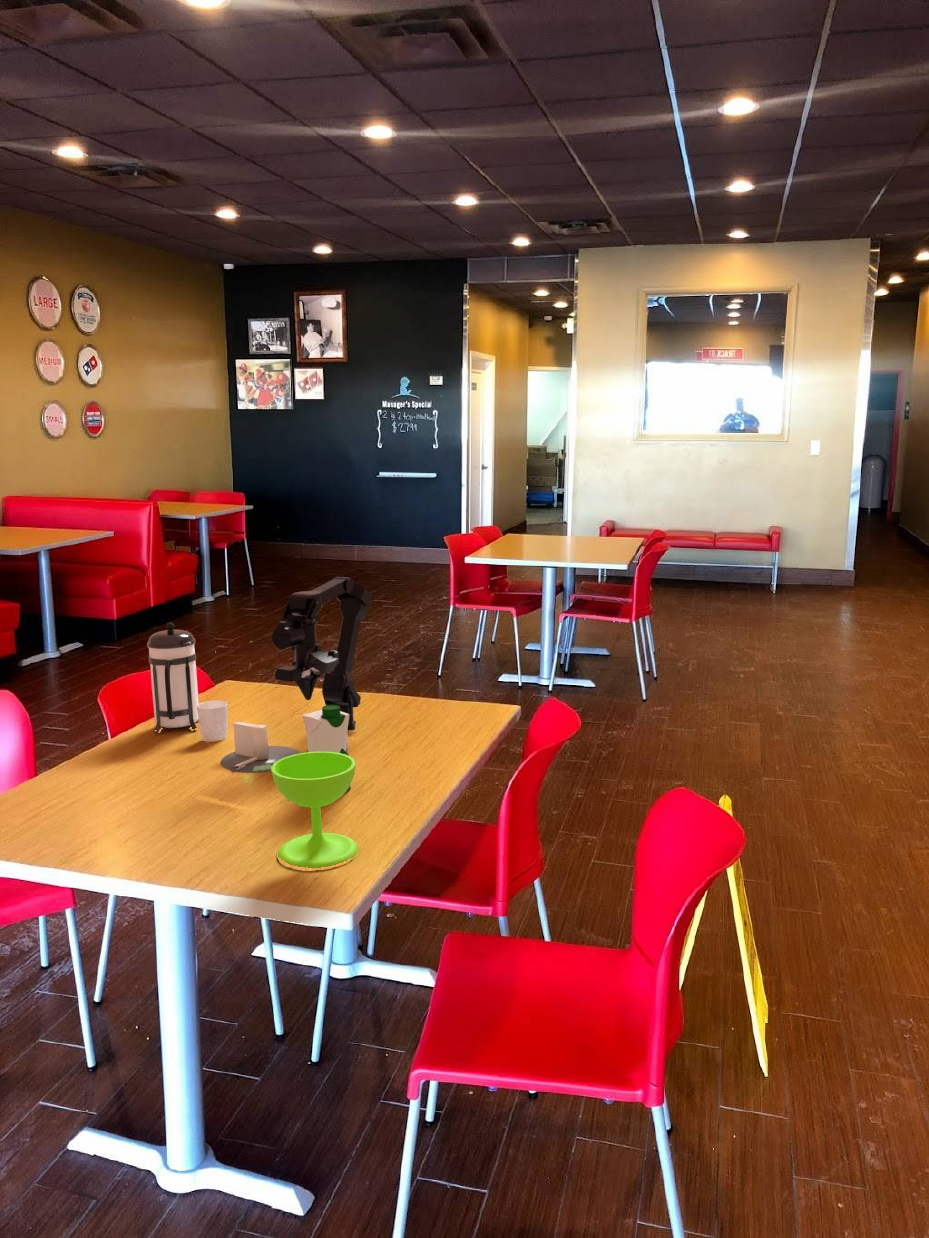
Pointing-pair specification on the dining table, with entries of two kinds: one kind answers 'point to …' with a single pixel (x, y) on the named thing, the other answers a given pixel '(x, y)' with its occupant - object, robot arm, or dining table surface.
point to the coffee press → (173, 678)
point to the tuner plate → (257, 765)
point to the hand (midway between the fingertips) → (308, 699)
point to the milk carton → (327, 730)
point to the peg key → (250, 742)
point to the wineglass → (315, 805)
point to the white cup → (213, 720)
